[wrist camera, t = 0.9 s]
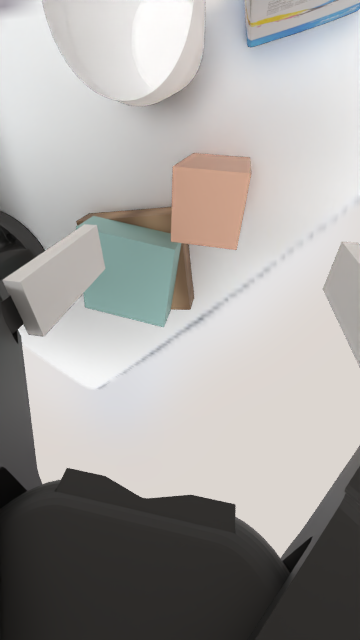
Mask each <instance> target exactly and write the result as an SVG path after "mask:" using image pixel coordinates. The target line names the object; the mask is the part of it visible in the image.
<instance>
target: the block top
mask: <svg viewBox="0 0 360 640" xmlns="http://www.w3.org/2000/svg"><path fill="white" fill-rule="evenodd" d="M84 224H88V225H97V228H98V233H99V238H100V244H101V249H102V254H103V259H104V264H105V270H104V271H103V272H102V273H101V274H100V275H99V276H98V277H97V279H96V280H95V281H94V282H93V283H92V284H91V285H90V286H89V287H88V288H87V290H86V291H85V292H84V302H85V308H89V309H93V310H97V311H101V312H105V313H109V314H113V315H117V316H121V317H125V318H129V319H133V320H137V321H141V322H145V323H149V324H152V325H156V326H160V327H164V326H165V323H166V321H167V318H168V316H169V313H170V311H171V305H172V299H173V293H174V287H175V280H176V274H177V268H178V261H179V255H180V249H181V243H177V242H171V233H166V232H162V231H158V230H153V229H149V228H145V227H140V226H136V225H132V224H127V223H123V222H118V221H114V220H110V219H105V218H101V217H97V216H92V217H91V218H89V219H87V220H86V221H84V222H83V223H81V224H80V225H78V226H77V227H76V230H77V229H78V228H80V227H81V226H83V225H84Z"/></svg>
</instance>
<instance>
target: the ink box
mask: <svg viewBox="0 0 360 640" xmlns="http://www.w3.org/2000/svg"><path fill="white" fill-rule="evenodd" d="M359 9H360V0H245V22H246V36H247V45H248V47H254V46H257V45H260V44H263V43H267V42H270V41H273V40H276V39H279V38H283V37H286V36H289V35H292V34H295V33H298V32H301V31H304V30H307V29H310V28H313V27H316V26H319V25H322V24H325V23H327V22H330V21H333V20H336V19H338V18H341V17H343V16H346V15H348V14H351V13H353V12H356V11H358V10H359Z"/></svg>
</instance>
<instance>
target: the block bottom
mask: <svg viewBox="0 0 360 640" xmlns="http://www.w3.org/2000/svg"><path fill="white" fill-rule="evenodd" d="M92 216H97V217H101V218H105V219H110V220H114V221H118V222H123V223H127V224H132V225H136V226H140V227H145V228H149V229H153V230H158V231H162V232H166V233H171V216H172V207H165V208H153V209H140V210H128V211H116V212H103V213H91V214H87V215H86V216H84V217H83V218H81V219H79V220H78V221H76V222H77V225H80V224H81V223H83V222H84V221H86V220H87V219H89V218H91V217H92ZM193 299H194V292H193V282H192V273H191V263H190V254H189V245H188V244H185V243H181V249H180V255H179V261H178V268H177V274H176V280H175V287H174V293H173V299H172V305H171V309H180V310H190V309H191V306H192V302H193Z"/></svg>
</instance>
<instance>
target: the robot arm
mask: <svg viewBox="0 0 360 640" xmlns="http://www.w3.org/2000/svg"><path fill="white" fill-rule="evenodd" d="M104 270H105V264H104V259H103V254H102V249H101V244H100V238H99V233H98V228H97V225H88V224H84V225H83V226H81V227H80V228H78V229H77V230H75V231H74V232H72V233H71V234H69V235H68V236H67V237H65V238H64V239H62V240H61V241H59V242H58V243H56V244H55V245H53V246H52V247H50V248H49V249H47V250H46V251H44V250H43V248H42V246H41V245H40V243H39V242H38V241H37V239H36V238H35V237H34V236H33V235H32V233H31V232H30V231H29V230H28V229H27V228H25V227H24V226H23V225H22V224H21V223H19V222H18V221H17V220H15V219H14V218H12V217H11V216H9V215H7V214H5V213H3V212H1V211H0V640H360V446H359V447H358V449H357V451H356V452H355V453H354V455H353V456H352V458H351V459H350V461H349V462H348V464H347V465H346V467H345V468H344V469H343V471H342V472H341V474H340V475H339V477H338V478H337V480H336V481H335V483H334V484H333V486H332V487H331V488H330V490H329V491H328V493H327V494H326V496H325V497H324V499H323V500H322V502H321V503H320V505H319V506H318V508H317V509H316V511H315V512H314V514H313V515H312V516H311V518H310V519H309V521H308V522H307V524H306V525H305V526H304V528H303V529H302V531H301V532H300V534H299V535H298V536H297V537H296V538H295V540H294V541H293V542H292V543H291V545H290V546H289V547H288V549H287V550H286V551H285V553H284V554H283V555H282V557H281V558H279V556H278V555H277V553H276V552H275V551H274V549H273V548H272V547H271V546H270V545H269V544H268V543H267V541H266V540H265V539H264V538H263V537H262V536H261V535H260V534H259V533H257V532H256V531H255V530H254V529H253V528H251V527H250V526H249V525H248V524H246V523H245V522H243V521H242V520H240V519H238V518H236V517H235V504H231V503H226V502H222V501H217V500H212V499H208V498H203V497H199V496H194V495H184V496H172V497H161V498H149V499H146V498H142V497H139V496H138V495H136V494H134V493H133V492H131V491H129V490H128V489H126V488H124V487H122V486H121V485H119V484H118V483H116V482H114V481H112V480H111V479H109V478H107V477H106V476H102V475H97V474H93V473H88V472H83V471H79V470H74V469H70V468H67V469H66V471H65V473H64V475H63V477H62V479H61V480H57V481H53V482H48V483H45V484H42V482H41V479H40V477H39V474H38V470H37V464H36V456H35V448H34V439H33V432H32V423H31V416H30V407H29V399H28V391H27V383H26V374H25V367H24V359H23V350H22V342H21V335H20V334H19V332H18V329H19V328H20V327H21V326H22V325H23V324H24V326H25V328H26V331H27V333H28V335H35V336H43V337H44V336H45V335H46V334H47V333H48V332H49V331H50V329H51V328H52V327H53V326H54V325H55V324H56V323H57V322H58V321H59V319H60V318H61V317H62V316H63V315H64V314H65V313H66V312H67V311H68V310H69V308H70V307H71V306H72V305H73V304H74V303H75V302H76V301H77V300H78V298H79V297H80V296H81V295H82V294H83V293H84V292H85V291H86V290H87V288H88V287H89V286H90V285H91V284H92V283H93V282H94V281H95V280H96V279H97V277H98V276H99V275H100V274H101V273H102V272H103V271H104ZM323 291H324V293H325V295H326V297H327V299H328V301H329V303H330V305H331V307H332V310H333V312H334V314H335V316H336V318H337V320H338V322H339V324H340V326H341V328H342V331H343V333H344V335H345V337H346V339H347V341H348V343H349V346H350V347H351V350H352V352H353V354H354V356H355V358H356V360H357V362H358V365H359V367H360V244H359V243H352V242H341V245H340V247H339V250H338V252H337V255H336V257H335V260H334V262H333V265H332V267H331V270H330V272H329V275H328V277H327V280H326V282H325V285H324V287H323Z"/></svg>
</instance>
